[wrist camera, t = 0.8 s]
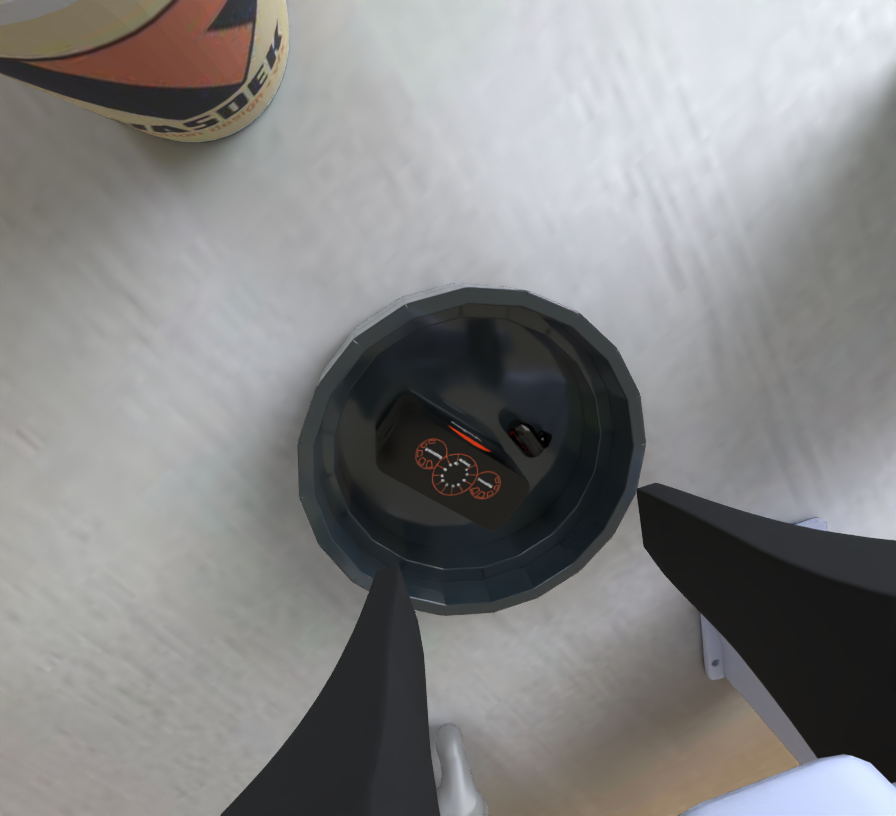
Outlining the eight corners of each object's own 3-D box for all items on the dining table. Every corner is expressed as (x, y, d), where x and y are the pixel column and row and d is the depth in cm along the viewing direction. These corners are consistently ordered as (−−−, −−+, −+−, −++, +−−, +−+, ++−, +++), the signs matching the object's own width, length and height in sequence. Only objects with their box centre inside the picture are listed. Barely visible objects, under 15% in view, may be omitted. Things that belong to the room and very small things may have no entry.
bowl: (620, 518, 25) (660, 558, 21) (364, 599, 24) (364, 655, 20) (581, 246, 20) (623, 243, 17) (261, 334, 19) (238, 349, 16)
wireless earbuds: (493, 505, 23) (511, 543, 20) (369, 436, 21) (369, 465, 18) (548, 430, 22) (576, 457, 19) (426, 350, 20) (436, 366, 17)
